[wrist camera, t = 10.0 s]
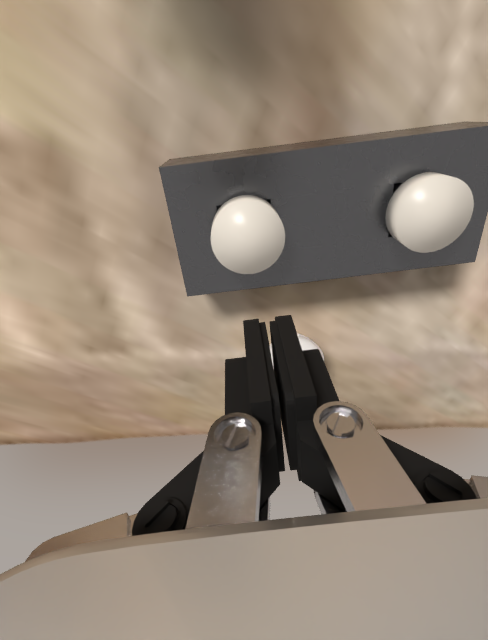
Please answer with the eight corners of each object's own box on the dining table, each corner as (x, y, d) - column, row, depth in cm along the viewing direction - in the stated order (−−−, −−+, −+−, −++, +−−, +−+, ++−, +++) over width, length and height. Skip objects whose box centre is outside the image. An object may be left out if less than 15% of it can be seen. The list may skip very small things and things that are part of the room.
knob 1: (272, 180, 28) (283, 196, 22) (276, 242, 30) (286, 269, 25) (208, 188, 28) (204, 206, 22) (218, 249, 30) (216, 278, 25)
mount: (465, 121, 27) (510, 122, 23) (441, 242, 32) (474, 261, 28) (169, 159, 28) (159, 167, 23) (192, 272, 33) (187, 296, 29)
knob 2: (432, 160, 27) (482, 171, 22) (422, 224, 30) (464, 248, 25) (368, 168, 28) (402, 181, 22) (363, 232, 30) (392, 256, 25)
